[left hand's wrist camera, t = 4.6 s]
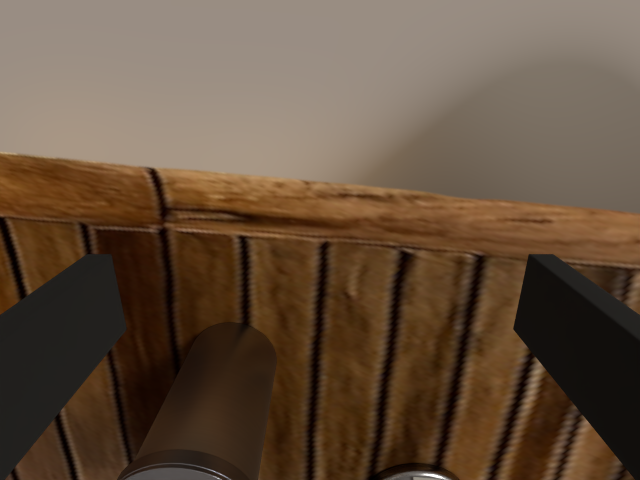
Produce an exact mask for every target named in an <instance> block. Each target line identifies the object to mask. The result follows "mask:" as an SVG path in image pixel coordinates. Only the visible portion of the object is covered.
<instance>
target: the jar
mask: <svg viewBox="0 0 640 480" xmlns="http://www.w3.org/2000/svg"><path fill="white" fill-rule="evenodd" d="M275 369H276V353H275V350H274V348H273V346H272V344H271V342H270V341H269V340H268V339H267V337H266V336H265V335H263V334H262V333H261V332H260V331H258V330H256V329H255V328H253V327H250V326H248V325H244V324H240V323H221V324H217V325H213V326H211V327H209V328H207V329H206V330H204V331H203V332H202V333H200V334H199V336H198V337H197V338H196V339H195V341H194V343H193V345H192V347H191V349H190V351H189V353H188V355H187V357H186V359H185V361H184V363H183V365H182V367H181V369H180V371H179V373H178V375H177V377H176V379H175V381H174V383H173V385H172V387H171V389H170V391H169V393H168V395H167V397H166V399H165V401H164V403H163V405H162V407H161V409H160V411H159V413H158V415H157V417H156V419H155V421H154V423H153V425H152V427H151V429H150V430H149V432H148V434H147V436H146V438H145V440H144V442H143V444H142V446H141V448H140V450H139V452H138V454H137V456H136V458H135V460H137V459H139V458H140V457H143V456H145V455H147V454H150V453H154V452H158V451H163V450H173V449H184V450H194V451H200V452H204V453H208V454H211V455H214V456H217V457H219V458H221V459H224V460H226V461H228V462H229V463H231V464H233V465H234V466H236V467H237V468H238V469H240V470H241V471H242V472H243V473H244V474H245V475H246V476H247V477H248V478H249V479H250V480H258V475H259V469H260V463H261V457H262V450H263V444H264V438H265V432H266V425H267V419H268V413H269V407H270V400H271V394H272V388H273V382H274V375H275ZM135 460H134V461H135Z"/></svg>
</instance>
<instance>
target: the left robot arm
mask: <svg viewBox="0 0 640 480" xmlns="http://www.w3.org/2000/svg"><path fill="white" fill-rule="evenodd" d="M126 329H127V328H126V323H125V319H124V314H123V309H122V304H121V299H120V295H119V290H118V285H117V280H116V275H115V271H114V266H113V261H112V256H111V254H87V255H85V256H84V257H82V258H81V259H79V260H78V261H77V262H75V263H74V264H72V265H71V266H69V267H68V268H67V269H65V270H64V271H62V272H61V273H60V274H58V275H57V276H55V277H54V278H52V279H51V280H50V281H48V282H47V283H45V284H44V285H42V286H41V287H40V288H38V289H37V290H35V291H34V292H32V293H31V294H30V295H28V296H27V297H25V298H24V299H22V300H21V301H20V302H18V303H17V304H15V305H14V306H12V307H11V308H10V309H8V310H7V311H5V312H4V313H2V314H1V315H0V480H5V479H6V477H7V476H8V475H9V474H10V472H11V471H12V470H13V469H14V467H15V466H16V465H17V464H18V463H19V461H20V460H21V459H22V458H23V456H24V455H25V454H26V453H27V451H28V450H29V449H30V448H31V447H32V445H33V444H34V443H35V442H36V440H37V439H38V438H39V437H40V435H41V434H42V433H43V432H44V431H45V429H46V428H47V427H48V426H49V424H50V423H51V422H52V421H53V419H54V418H55V417H56V416H57V414H58V413H59V412H60V411H61V410H62V408H63V407H64V406H65V405H66V403H67V402H68V401H69V400H70V398H71V397H72V396H73V395H74V394H75V392H76V391H77V390H78V389H79V387H80V386H81V385H82V384H83V382H84V381H85V380H86V379H87V377H88V376H89V375H90V374H91V373H92V371H93V370H94V369H95V368H96V366H97V365H98V364H99V363H100V361H101V360H102V359H103V358H104V357H105V355H106V354H107V353H108V352H109V350H110V349H111V348H112V347H113V345H114V344H115V343H116V342H117V341H118V339H119V338H120V337H121V336H122V334H123V333H124V332H125V331H126ZM513 329H514V331H515V332H516V333H517V334H518V336H519V337H520V338H521V339H522V341H523V342H524V343H525V344H526V345H527V347H528V348H529V349H530V350H531V352H532V353H533V354H534V355H535V357H536V358H537V359H538V360H539V361H540V363H541V364H542V365H543V366H544V368H545V369H546V370H547V371H548V373H549V374H550V375H551V376H552V377H553V379H554V380H555V381H556V382H557V384H558V385H559V386H560V387H561V389H562V390H563V391H564V392H565V394H566V395H567V396H568V397H569V398H570V400H571V401H572V402H573V403H574V405H575V406H576V407H577V408H578V410H579V411H580V412H581V413H582V414H583V416H584V417H585V418H586V419H587V421H588V422H589V423H590V424H591V426H592V427H593V428H594V429H595V431H596V432H597V433H598V434H599V435H600V437H601V438H602V439H603V440H604V442H605V443H606V444H607V445H608V447H609V448H610V449H611V450H612V451H613V453H614V454H615V455H616V456H617V458H618V459H619V460H620V461H621V463H622V464H623V465H624V466H625V468H626V469H627V470H628V471H629V472H630V474H631V475H632V476H633V477H634V479H635V480H640V315H639V314H638V313H636V312H635V311H633V310H632V309H630V308H629V307H628V306H626V305H625V304H623V303H622V302H620V301H619V300H618V299H616V298H615V297H613V296H612V295H610V294H609V293H608V292H606V291H605V290H603V289H602V288H600V287H599V286H598V285H596V284H595V283H593V282H592V281H590V280H589V279H588V278H586V277H585V276H583V275H582V274H580V273H579V272H578V271H576V270H575V269H573V268H572V267H571V266H569V265H568V264H566V263H565V262H563V261H562V260H561V259H559V258H558V257H556V256H555V255H553V254H529V256H528V261H527V266H526V271H525V275H524V280H523V285H522V290H521V295H520V299H519V304H518V309H517V314H516V319H515V323H514V328H513ZM372 480H459V479H458V478H457V477H456V476H455V475H454V474H452V473H451V472H449V471H448V470H445V469H443V468H441V467H438V466H434V465H429V464H406V465H400V466H396V467H393V468H390V469H388V470H386V471H384V472H382V473H380V474H378V475H377V476H376V477H374V478H373V479H372Z"/></svg>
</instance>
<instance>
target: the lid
mask: <svg viewBox="0 0 640 480" xmlns="http://www.w3.org/2000/svg"><path fill="white" fill-rule="evenodd" d="M117 480H250V479H249V478H248V477H247V476H246V475H245V474H244V473H243V472H242V471H241V470H240V469H238V468H237V467H236V466H234V465H233V464H231V463H229V462H228V461H226V460H224V459H221V458H219V457H217V456H214V455H211V454H208V453H204V452H200V451H194V450H184V449H173V450H163V451H158V452H154V453H150V454H147V455H145V456H143V457H140V458H139V459H137V460H135V461H133V462H132V463H131V464H129V465H128V466H127V467H126V468H125V469H124V470H123V471H122V472H121V474H120V476H119V477H118V479H117Z"/></svg>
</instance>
